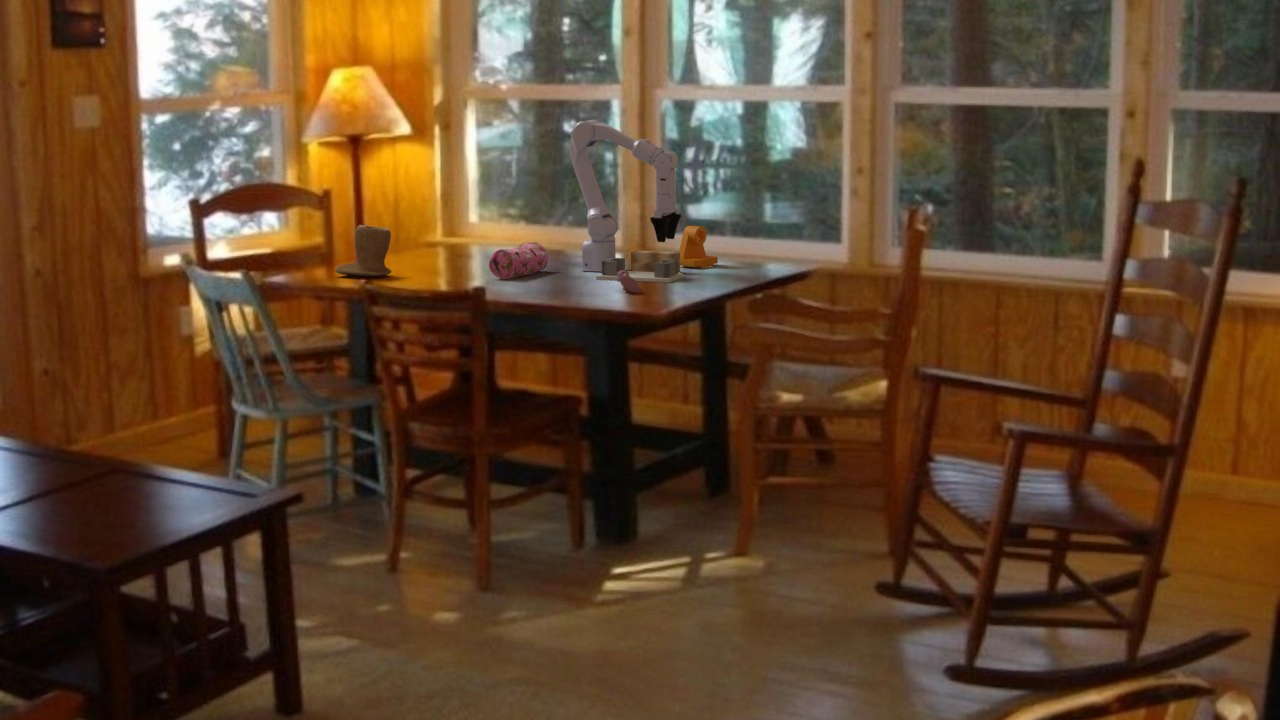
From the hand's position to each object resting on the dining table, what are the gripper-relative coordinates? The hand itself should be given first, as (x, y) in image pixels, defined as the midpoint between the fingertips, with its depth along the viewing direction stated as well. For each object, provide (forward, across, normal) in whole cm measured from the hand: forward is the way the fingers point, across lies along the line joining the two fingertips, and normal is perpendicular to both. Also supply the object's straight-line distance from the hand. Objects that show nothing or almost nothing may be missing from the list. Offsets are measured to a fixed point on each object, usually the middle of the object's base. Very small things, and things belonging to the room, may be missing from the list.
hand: (665, 240), depth 502 cm
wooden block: (+10, 0, +3) cm, 10 cm away
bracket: (+10, +15, -5) cm, 19 cm away
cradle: (+10, -13, +3) cm, 16 cm away
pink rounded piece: (+10, -37, -3) cm, 38 cm away
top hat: (+10, -31, +81) cm, 88 cm away
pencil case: (+10, -17, +39) cm, 44 cm away
